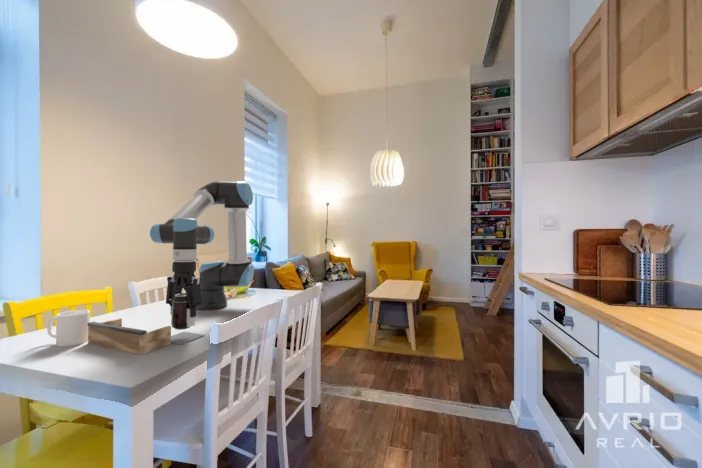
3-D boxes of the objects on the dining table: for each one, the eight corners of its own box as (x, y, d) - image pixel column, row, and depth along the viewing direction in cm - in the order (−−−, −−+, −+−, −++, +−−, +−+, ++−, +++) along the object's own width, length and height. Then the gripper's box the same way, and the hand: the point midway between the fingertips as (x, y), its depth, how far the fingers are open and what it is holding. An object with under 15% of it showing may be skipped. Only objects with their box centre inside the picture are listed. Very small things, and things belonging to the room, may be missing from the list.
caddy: (119, 334, 111) (119, 315, 111) (170, 343, 102) (171, 323, 102) (87, 343, 101) (87, 323, 101) (141, 354, 93) (141, 332, 93)
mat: (184, 332, 114) (184, 331, 114) (204, 335, 111) (204, 334, 111) (159, 341, 105) (159, 340, 105) (181, 345, 102) (181, 343, 102)
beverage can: (195, 328, 107) (196, 294, 107) (173, 331, 103) (174, 296, 103) (190, 323, 112) (191, 291, 113) (170, 327, 108) (170, 293, 108)
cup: (76, 346, 98) (77, 315, 98) (35, 347, 97) (36, 316, 97) (95, 338, 107) (95, 309, 107) (57, 338, 105) (58, 309, 105)
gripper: (154, 260, 108) (153, 324, 107) (197, 263, 101) (195, 331, 101) (173, 259, 115) (171, 319, 114) (214, 261, 108) (212, 325, 108)
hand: (182, 324), depth 108 cm, fingers closed on beverage can, 7 cm apart
